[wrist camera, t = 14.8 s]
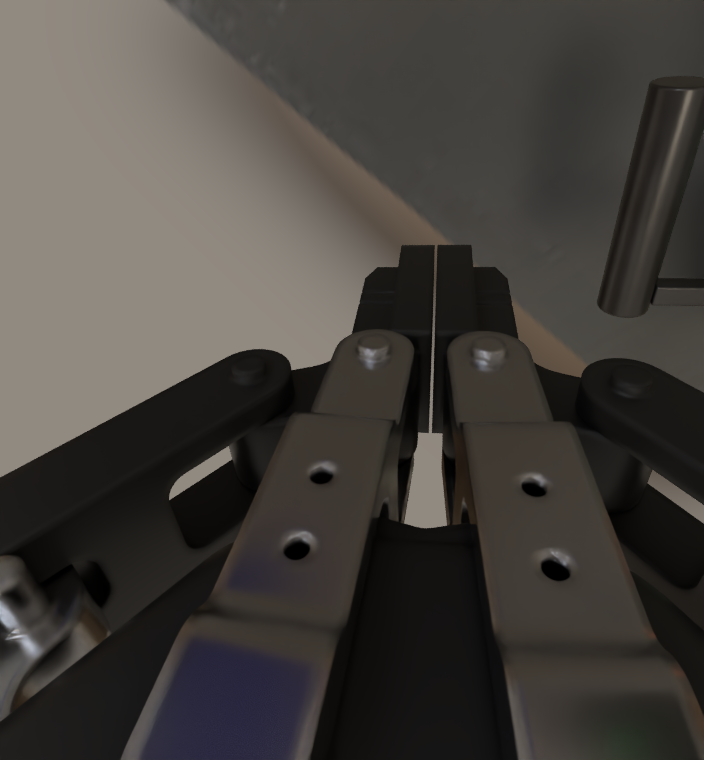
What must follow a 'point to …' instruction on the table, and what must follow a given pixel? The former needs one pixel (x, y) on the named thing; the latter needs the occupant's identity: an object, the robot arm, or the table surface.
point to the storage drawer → (655, 202)
